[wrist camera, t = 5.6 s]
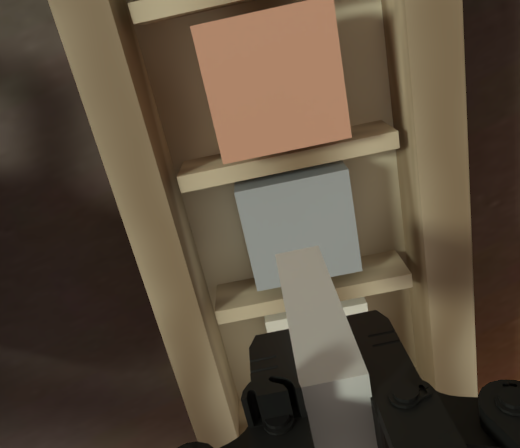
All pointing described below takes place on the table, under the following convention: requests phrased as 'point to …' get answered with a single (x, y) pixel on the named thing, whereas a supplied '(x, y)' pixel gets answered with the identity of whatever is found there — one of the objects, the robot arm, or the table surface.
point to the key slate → (299, 219)
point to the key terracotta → (274, 79)
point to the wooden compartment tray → (225, 175)
